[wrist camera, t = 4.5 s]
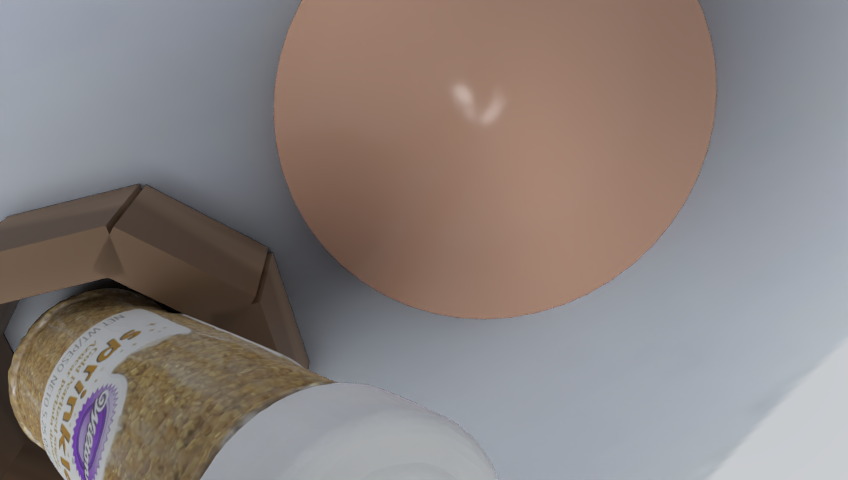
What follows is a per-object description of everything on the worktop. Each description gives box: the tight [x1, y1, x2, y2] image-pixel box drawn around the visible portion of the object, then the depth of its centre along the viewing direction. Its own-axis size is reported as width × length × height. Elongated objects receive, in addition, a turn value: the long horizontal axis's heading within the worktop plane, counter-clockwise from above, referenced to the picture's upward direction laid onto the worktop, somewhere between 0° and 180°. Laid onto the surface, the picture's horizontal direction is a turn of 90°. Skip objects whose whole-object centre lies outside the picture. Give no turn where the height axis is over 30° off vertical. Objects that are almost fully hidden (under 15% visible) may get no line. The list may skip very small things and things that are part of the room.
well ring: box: [0, 184, 309, 480], centre depth 21 cm, size 9×9×3 cm
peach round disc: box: [274, 0, 717, 319], centre depth 20 cm, size 11×11×1 cm
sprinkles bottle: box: [8, 288, 498, 480], centre depth 16 cm, size 5×5×13 cm
